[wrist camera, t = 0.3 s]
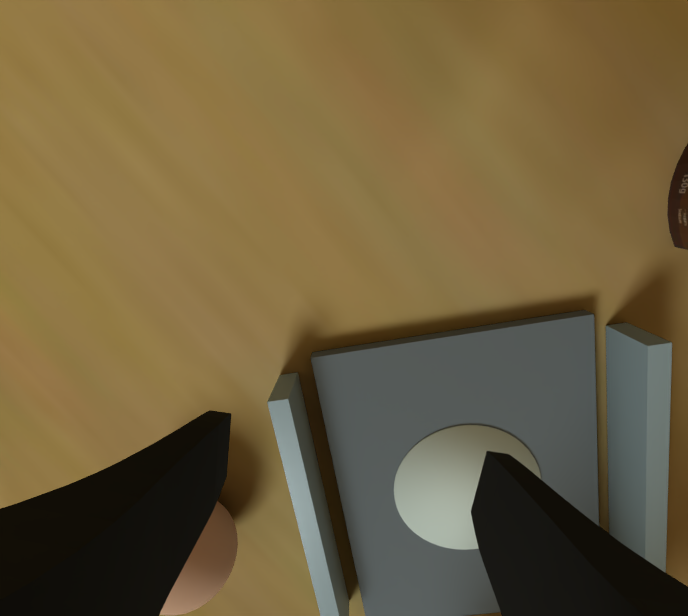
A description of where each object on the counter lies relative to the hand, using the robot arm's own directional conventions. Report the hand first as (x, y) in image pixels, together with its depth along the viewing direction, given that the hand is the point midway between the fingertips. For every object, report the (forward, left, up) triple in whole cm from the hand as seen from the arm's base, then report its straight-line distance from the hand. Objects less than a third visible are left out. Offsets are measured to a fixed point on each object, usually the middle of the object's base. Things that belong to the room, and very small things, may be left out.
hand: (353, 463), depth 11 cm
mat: (-9, -5, -10) cm, 14 cm away
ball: (-9, +11, -7) cm, 16 cm away
